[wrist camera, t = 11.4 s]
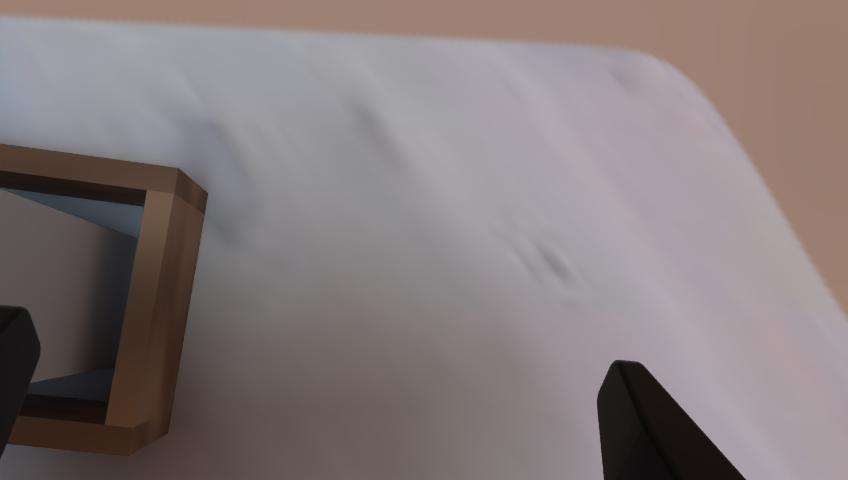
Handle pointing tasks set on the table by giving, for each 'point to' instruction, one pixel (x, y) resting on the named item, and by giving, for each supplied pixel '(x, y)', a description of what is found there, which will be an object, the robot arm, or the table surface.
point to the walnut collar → (146, 305)
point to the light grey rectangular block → (65, 283)
